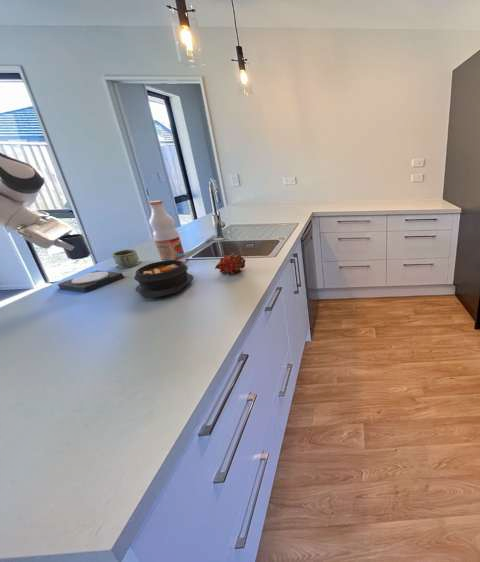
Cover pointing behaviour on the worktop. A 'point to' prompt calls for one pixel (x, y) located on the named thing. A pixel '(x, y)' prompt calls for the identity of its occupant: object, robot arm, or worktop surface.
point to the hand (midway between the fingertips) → (77, 245)
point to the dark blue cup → (76, 246)
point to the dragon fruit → (231, 264)
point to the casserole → (162, 278)
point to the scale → (90, 281)
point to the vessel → (126, 258)
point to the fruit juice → (165, 233)
